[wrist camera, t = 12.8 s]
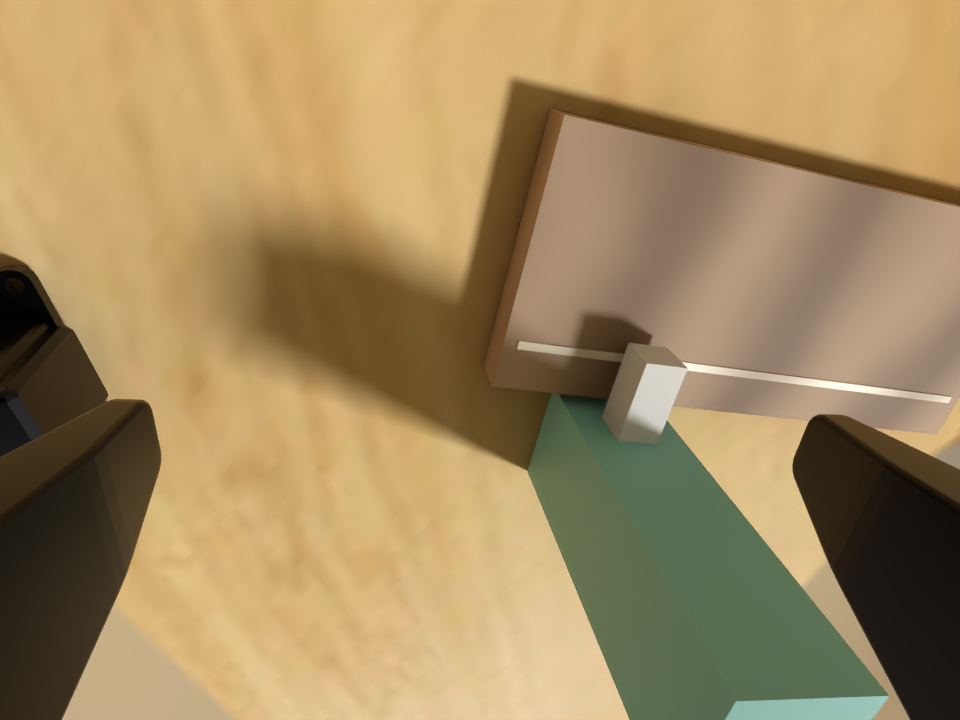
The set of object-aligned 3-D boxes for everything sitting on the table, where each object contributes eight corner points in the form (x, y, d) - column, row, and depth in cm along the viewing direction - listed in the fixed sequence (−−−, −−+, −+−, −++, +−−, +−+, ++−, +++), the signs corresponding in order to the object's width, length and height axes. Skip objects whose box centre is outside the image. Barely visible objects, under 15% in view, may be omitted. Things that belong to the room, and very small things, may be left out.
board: (483, 366, 23) (491, 387, 22) (549, 108, 20) (565, 115, 18) (909, 415, 29) (937, 435, 27) (1026, 220, 25) (1065, 232, 24)
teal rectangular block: (527, 470, 26) (668, 814, 15) (576, 313, 23) (798, 595, 12) (615, 476, 27) (810, 802, 16) (673, 327, 24) (961, 597, 13)
